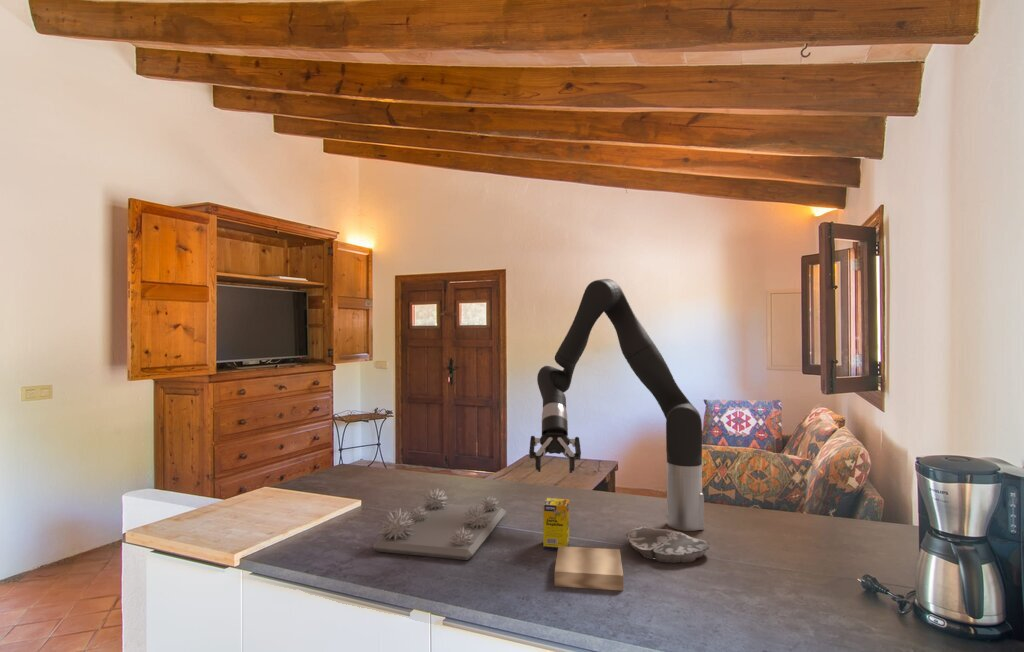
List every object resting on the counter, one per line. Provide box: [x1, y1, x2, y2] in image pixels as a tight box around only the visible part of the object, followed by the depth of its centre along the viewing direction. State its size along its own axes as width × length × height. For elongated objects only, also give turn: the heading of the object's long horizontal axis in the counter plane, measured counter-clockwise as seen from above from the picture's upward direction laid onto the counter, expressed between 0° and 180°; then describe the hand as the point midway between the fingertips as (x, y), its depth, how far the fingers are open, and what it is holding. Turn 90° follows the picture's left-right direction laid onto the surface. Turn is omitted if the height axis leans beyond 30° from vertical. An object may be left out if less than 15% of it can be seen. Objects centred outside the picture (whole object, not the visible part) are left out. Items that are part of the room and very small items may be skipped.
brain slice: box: [625, 526, 711, 564], centre depth 129 cm, size 20×17×3 cm
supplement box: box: [542, 497, 570, 551], centre depth 133 cm, size 6×6×11 cm
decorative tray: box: [372, 488, 507, 561], centre depth 143 cm, size 35×26×10 cm
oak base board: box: [554, 546, 624, 592], centre depth 117 cm, size 14×14×3 cm
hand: (555, 470), depth 145 cm, fingers open, 8 cm apart
